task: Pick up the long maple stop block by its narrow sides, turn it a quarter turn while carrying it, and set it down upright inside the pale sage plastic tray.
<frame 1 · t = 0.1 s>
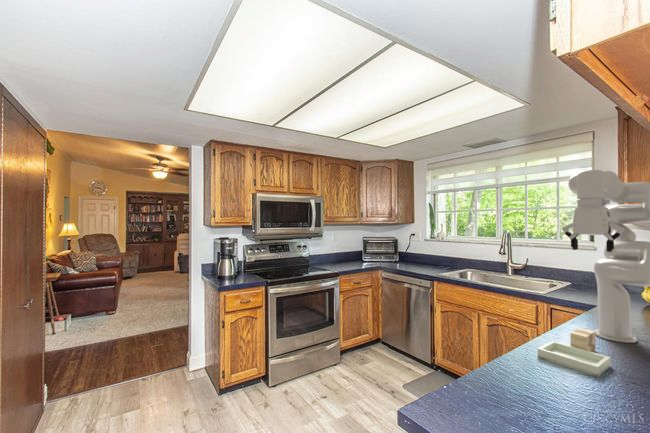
hand: (591, 250, 109), 36 cm above the worktop, tool pointing down, fingers open, 9 cm apart
stop block: (583, 351, 108), on the worktop
tray: (572, 361, 100), on the worktop
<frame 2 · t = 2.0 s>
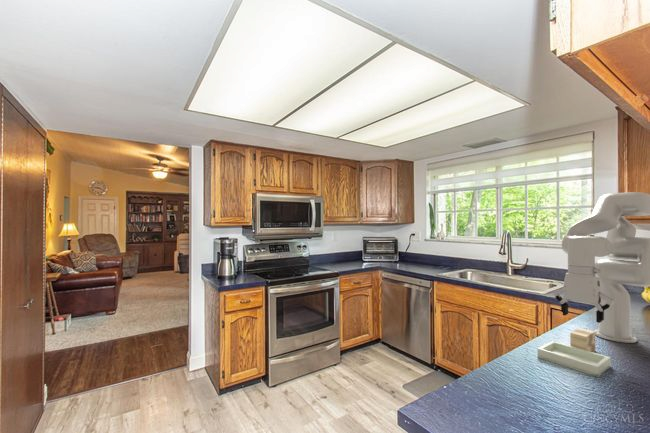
hand: (581, 318, 108), 12 cm above the worktop, tool pointing down, fingers open, 9 cm apart
nothing on the worktop moved.
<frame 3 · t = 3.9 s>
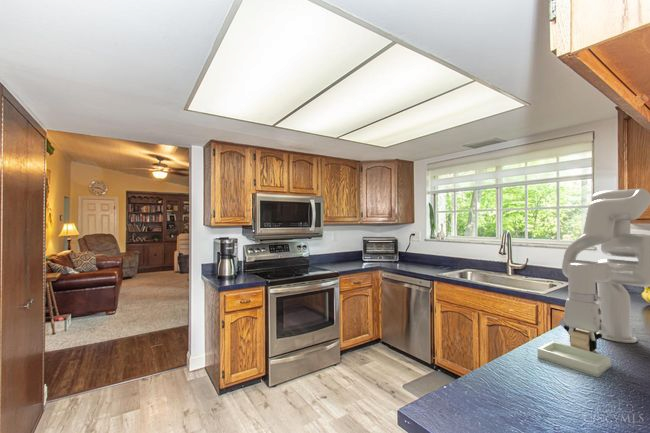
hand: (583, 347, 108), 1 cm above the worktop, tool pointing down, fingers closed on stop block, 4 cm apart
stop block: (583, 351, 108), on the worktop, touching gripper
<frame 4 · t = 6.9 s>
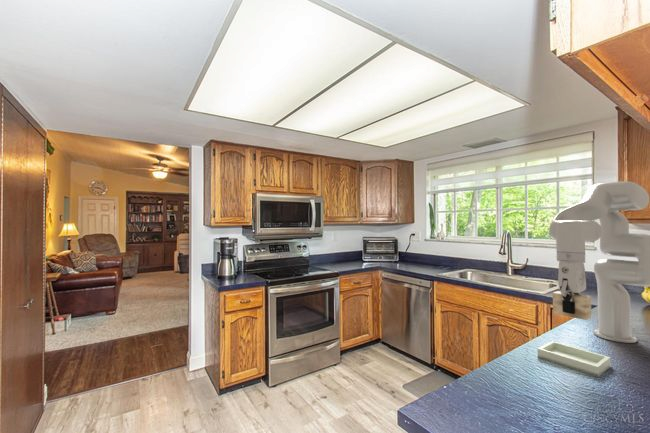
hand: (571, 311, 100), 17 cm above the worktop, tool pointing down, fingers closed on stop block, 4 cm apart
stop block: (571, 315, 100), point 15 cm above the worktop, touching gripper
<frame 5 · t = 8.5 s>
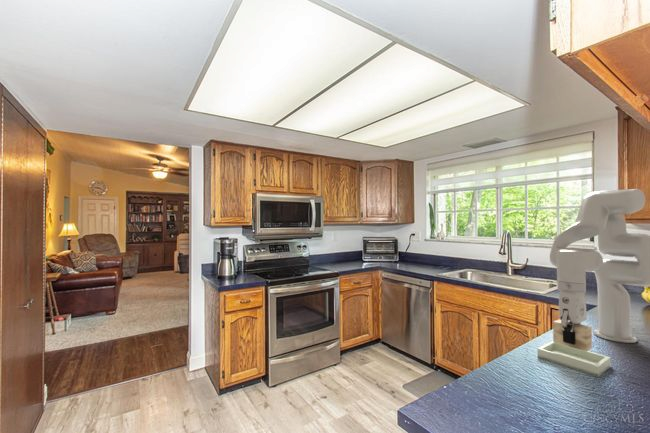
hand: (572, 340, 100), 7 cm above the worktop, tool pointing down, fingers closed on stop block, 4 cm apart
stop block: (572, 345, 100), point 6 cm above the worktop, touching gripper
when the fingers open (4 cm above the worktop, at t = 10.0 s): stop block drops 1 cm, resting on tray.
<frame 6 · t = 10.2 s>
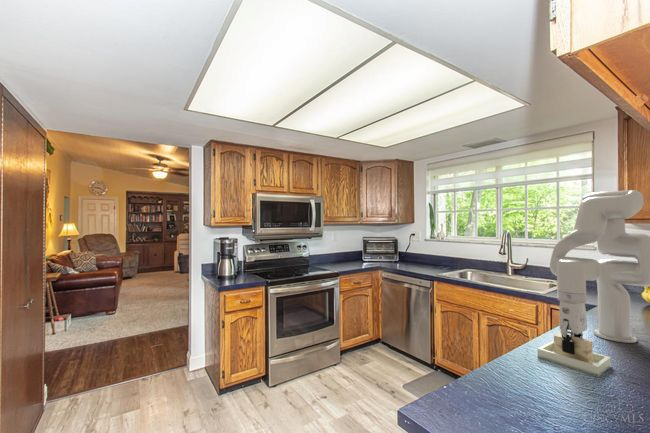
hand: (572, 349, 100), 4 cm above the worktop, tool pointing down, fingers open, 6 cm apart
stop block: (573, 359, 100), point 1 cm above the worktop, touching tray
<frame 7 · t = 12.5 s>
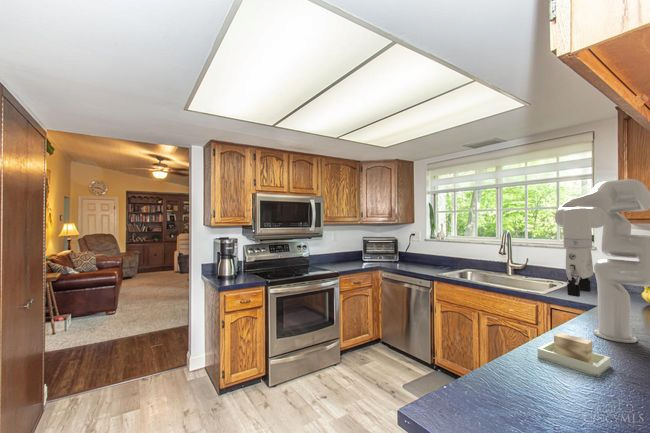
hand: (579, 293, 102), 22 cm above the worktop, tool pointing down, fingers open, 9 cm apart
nothing on the worktop moved.
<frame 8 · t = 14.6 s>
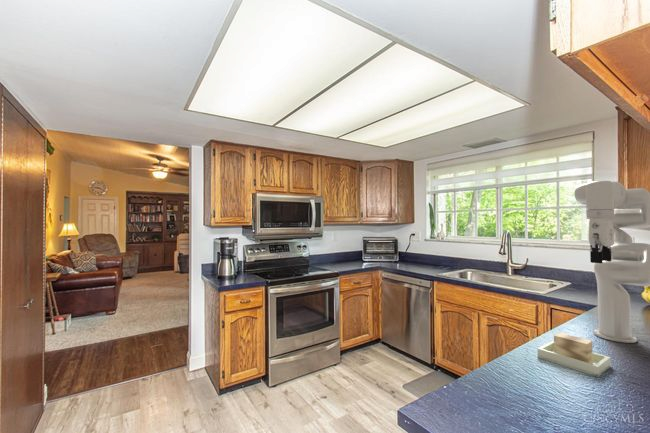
hand: (601, 261, 108), 32 cm above the worktop, tool pointing down, fingers open, 9 cm apart
nothing on the worktop moved.
at the end: stop block inside the target area on the tray (0.2 cm from its centre), point 0.8 cm above the tray's base; stop block tilted 0°; the gripper is holding nothing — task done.
